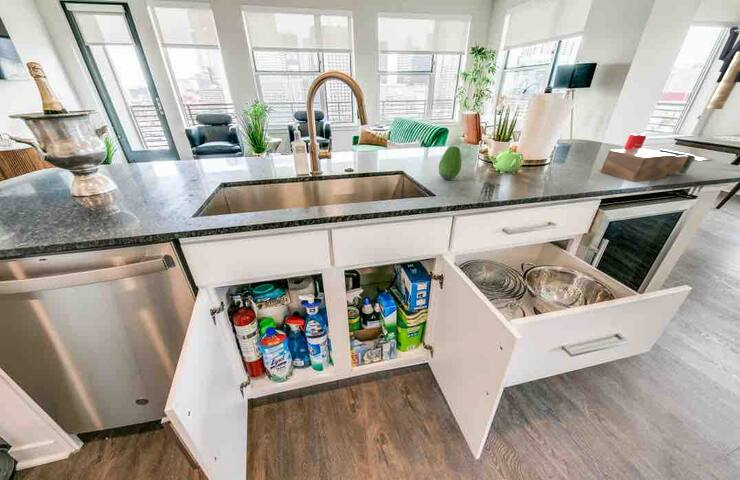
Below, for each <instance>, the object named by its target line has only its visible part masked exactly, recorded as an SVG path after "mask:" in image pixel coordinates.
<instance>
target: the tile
mask: <svg viewBox="0 0 740 480" xmlns="http://www.w3.org/2000/svg"><path fill="white" fill-rule="evenodd" d="M694 161H698V162H699V161H713V159H711V158H706V157H701V156H697V155H696V156H695V160H694Z"/></svg>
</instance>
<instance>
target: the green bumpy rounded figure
mask: <svg viewBox="0 0 740 480" xmlns="http://www.w3.org/2000/svg"><path fill="white" fill-rule="evenodd" d="M488 159H489V160H490V161H491V162H492V165H493V168H494V169H495V171H497V172H498V171H499V174H505V172H509V173H510V174H512V175H513V174H516V173H515V172H516V171H518V170H519V169H520V167H522V166H523V159H524V154H523V153H520V152H519V153H517V152H515V151H514V150H513V149H507V151H505V150H499V154H498V155H497V156H496V158H495V156H494V155H493V154H490V155H488Z"/></svg>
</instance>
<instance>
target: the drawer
mask: <svg viewBox="0 0 740 480" xmlns="http://www.w3.org/2000/svg"><path fill="white" fill-rule="evenodd" d="M653 151H658V152H663V153H668V154H674V155H677V156H676V157H675V159H674V161H673V163H672V165H671V167H670V169H669V170H668V172H667V174H666V175H672V174H673V175H674V174H682V175H685V174H687V172H688V170H689V169H690V167H691V165H692V164H693V163H694V162H695V161H696V160H695V156H697V155H696V154H691V153H685V152H679V151H674V150H669V149H662V148H659V149H657V150H656V149H654V150H653Z"/></svg>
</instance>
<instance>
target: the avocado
mask: <svg viewBox="0 0 740 480" xmlns="http://www.w3.org/2000/svg"><path fill="white" fill-rule="evenodd" d="M462 163H463V161H462V152H461V149H460V147H458V146H455V145H450V146H449V147H447V148H446V150H444V153H443V155H442V156H441V158H440V160H439V163H438V174H439V176H440V178H442V179H443V180H446V181H452V180H454V179H456V178H457V177H458V175H459V174H460V172H461V170H462Z"/></svg>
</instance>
